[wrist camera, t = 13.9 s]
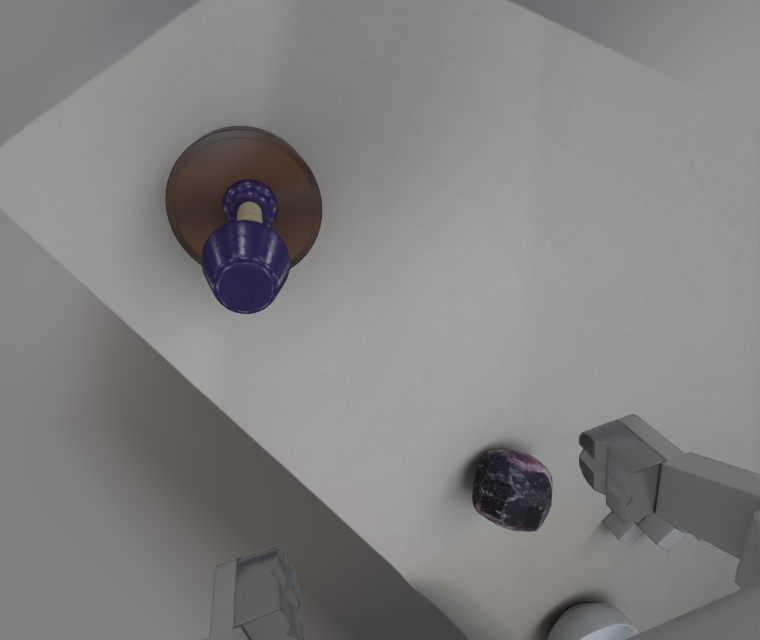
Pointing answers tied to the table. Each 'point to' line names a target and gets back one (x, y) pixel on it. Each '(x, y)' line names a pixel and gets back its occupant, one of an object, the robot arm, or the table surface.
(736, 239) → the table surface
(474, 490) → the mineral specimen
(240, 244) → the toy lamp
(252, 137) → the wooden drum
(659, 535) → the grey stepped block
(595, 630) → the cereal bowl
